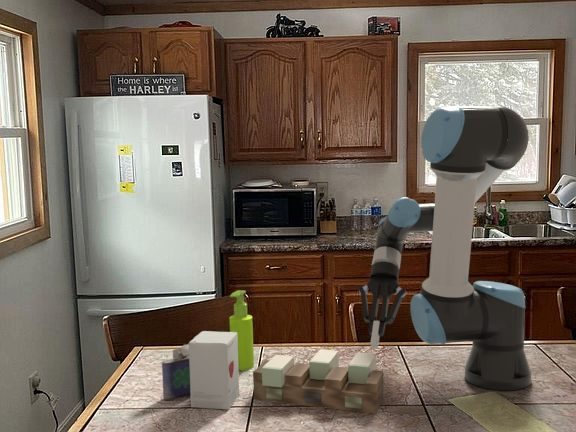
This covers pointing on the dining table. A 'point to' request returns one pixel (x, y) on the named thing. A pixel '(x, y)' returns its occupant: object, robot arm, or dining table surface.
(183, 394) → the flask
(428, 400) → the dining table surface
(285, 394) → the brown wooden slotted rack
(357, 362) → the button
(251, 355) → the soap dispenser
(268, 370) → the button
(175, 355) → the bunny figurine
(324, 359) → the button middle
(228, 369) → the supplement box
